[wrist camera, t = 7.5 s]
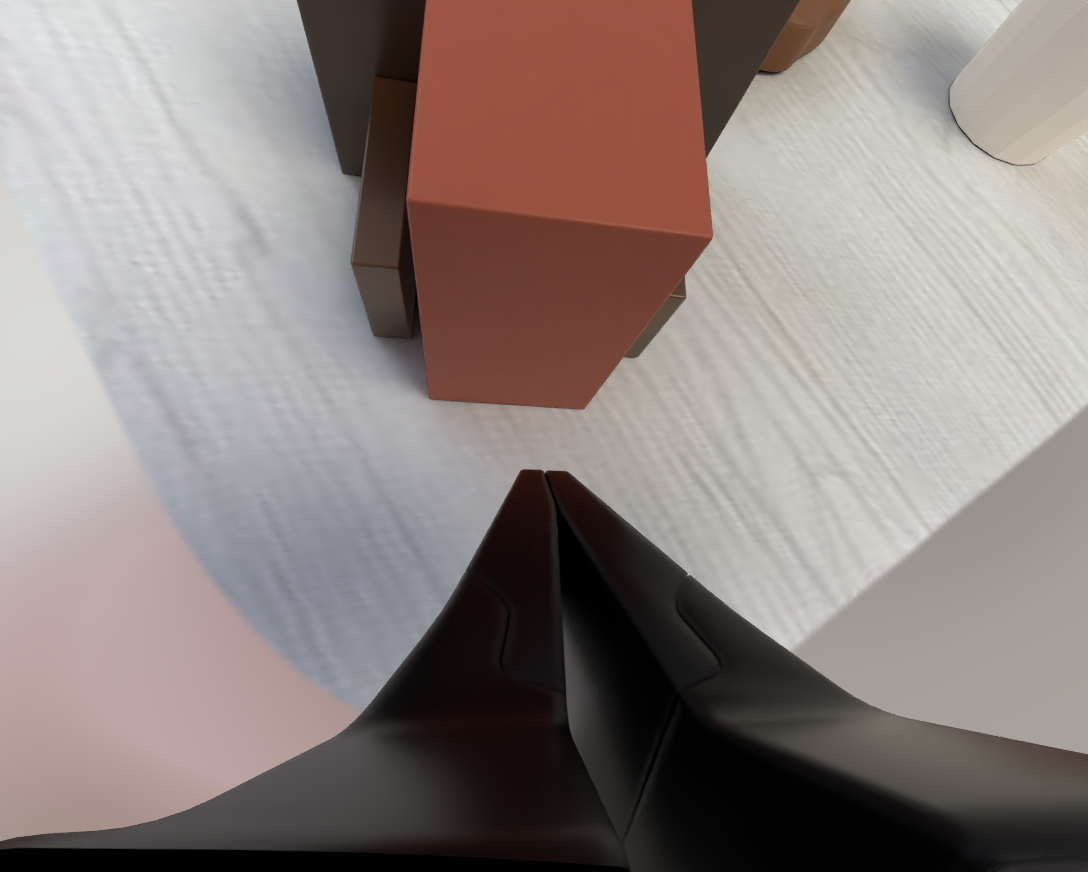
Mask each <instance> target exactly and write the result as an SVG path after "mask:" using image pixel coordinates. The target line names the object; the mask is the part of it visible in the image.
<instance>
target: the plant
mask: <svg viewBox="0 0 1088 872" xmlns="http://www.w3.org/2000/svg"><path fill="white" fill-rule="evenodd" d="M849 2H850V0H800V2H799V4H798V5H797V7H796V9H795V10H794V12H793V14H792V15H791V17H790V19H789V20H788V22H787V24H786V25H785V27H784V29H783V30H782V32H781V34H780V35H779V37H778V39H777V40H776V42H775V44H774V46H773V47H772V49H771V51H770V52H769V54H768V56H767V57H766V59H765V61H764V62H763V64H762V66H761V67H760V69H759V70H763V71H769V72H780V71H784V70H787V69H788V68H789V67H790V66H791V65H792V64H793V63H794V62H795V60H796V59H798V58H799V57H801V56H804V55H806V54H808V53H809V52H811V51H812V50H814V49H815V48H816V47H817V46H818V45H820V43H821V42H822V41H823V40H824V38H825V37H826V36H827V34H828V33H829V31H830V30H831V28H832V27H833V25H834V24H835V23H836V21H837V20H838V18H839V17H840V15H841V14H842V12H843V11H844V9H845V8H846V6H847V5H848V3H849Z"/></svg>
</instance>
